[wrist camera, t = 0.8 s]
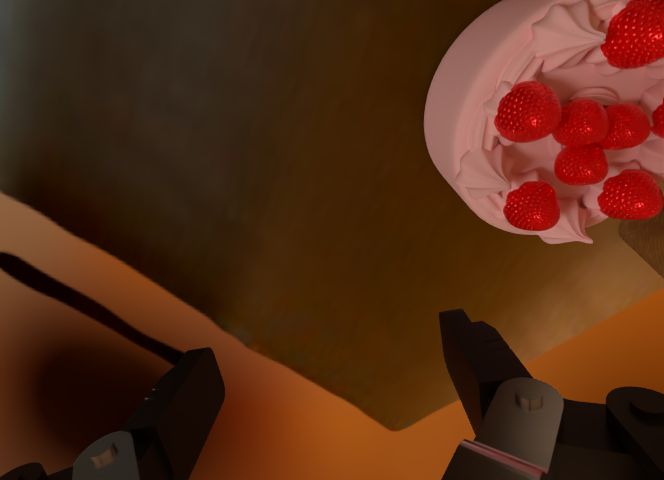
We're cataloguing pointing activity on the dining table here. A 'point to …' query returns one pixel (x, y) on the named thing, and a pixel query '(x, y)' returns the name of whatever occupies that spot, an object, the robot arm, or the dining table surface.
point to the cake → (553, 115)
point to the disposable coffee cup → (646, 239)
